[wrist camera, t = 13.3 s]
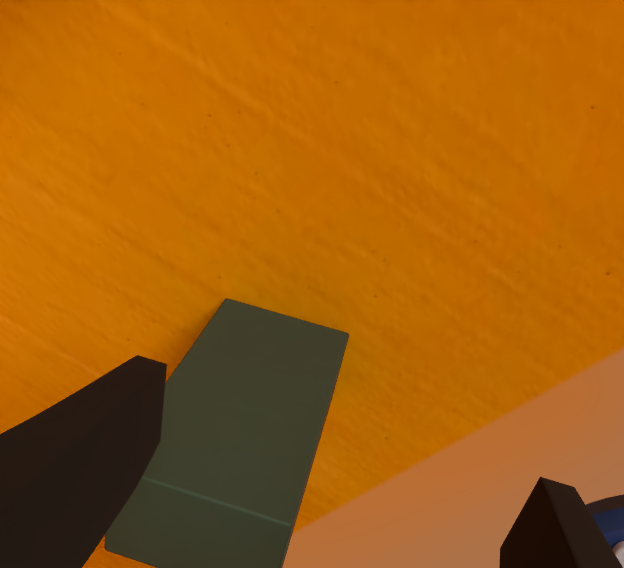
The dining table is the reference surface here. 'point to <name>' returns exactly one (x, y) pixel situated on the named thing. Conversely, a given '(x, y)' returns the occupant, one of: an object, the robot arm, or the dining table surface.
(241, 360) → the carton
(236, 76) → the dining table surface
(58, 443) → the robot arm
